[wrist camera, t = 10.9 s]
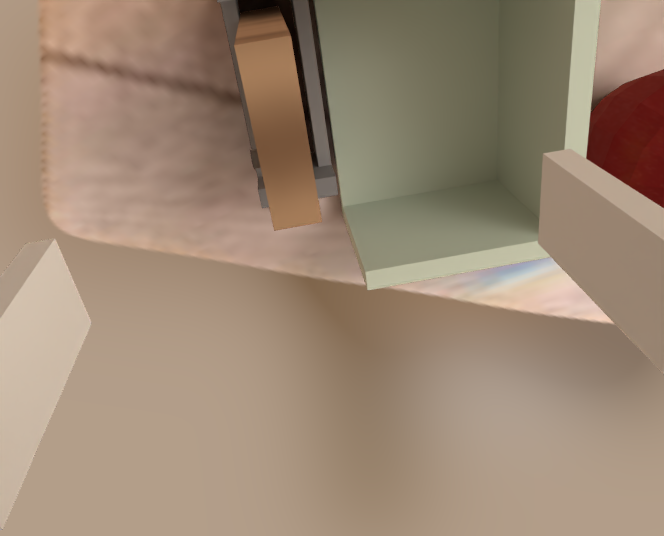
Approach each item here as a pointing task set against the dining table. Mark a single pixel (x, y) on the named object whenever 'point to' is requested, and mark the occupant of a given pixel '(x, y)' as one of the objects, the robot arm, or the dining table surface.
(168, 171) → the dining table surface
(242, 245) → the dining table surface
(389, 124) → the cabinet
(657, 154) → the apple
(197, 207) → the dining table surface
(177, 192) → the dining table surface
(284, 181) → the door panel
